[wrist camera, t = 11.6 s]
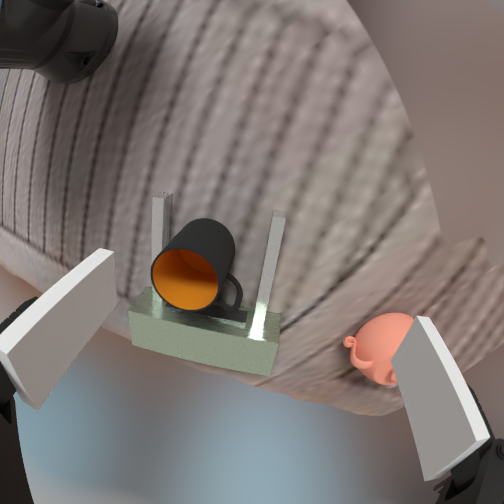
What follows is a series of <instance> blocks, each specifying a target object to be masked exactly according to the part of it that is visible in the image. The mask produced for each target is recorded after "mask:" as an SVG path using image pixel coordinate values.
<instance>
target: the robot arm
mask: <svg viewBox="0 0 504 504" xmlns="http://www.w3.org/2000/svg"><path fill="white" fill-rule="evenodd" d="M117 28H118V18H117V14H116V11H115V9H114V8H113V7H112V6H111V5H110V4H108V3H106V2H104V1H102V0H0V69H30V70H34V71H36V72H37V73H39V74H41V75H42V76H44V77H45V78H47V79H49V80H50V81H52V82H55V83H65V84H70V83H75V82H78V81H80V80H82V79H84V78H85V77H87V76H88V75H90V74H91V73H92V72H93V71H94V70H95V69H96V68H97V67H98V66H99V65H100V64H101V63H102V61H103V60H104V59H105V57H106V56H107V54H108V53H109V51H110V49H111V47H112V45H113V43H114V40H115V37H116V34H117ZM116 306H117V294H116V280H115V260H114V252H113V251H109V250H105V249H101V248H99V249H98V250H96V251H95V252H94V253H93V254H91V255H90V256H89V257H87V258H86V259H85V260H84V261H82V262H81V263H80V264H79V265H77V266H76V267H75V268H74V269H72V270H71V271H70V272H69V273H68V274H66V275H65V276H64V277H63V278H62V279H60V280H59V281H58V282H57V283H56V284H54V285H53V286H52V287H51V288H50V289H49V290H48V291H46V292H45V293H44V294H43V295H42V296H41V297H40V298H38V297H34V298H32V299H30V300H28V301H25V302H24V303H23V304H22V305H21V306H19V308H17V309H16V312H13V313H12V314H11V315H10V316H9V318H6V319H5V320H4V322H2V323H1V324H0V504H34V502H33V499H32V496H31V492H30V488H29V485H28V481H27V477H26V473H25V468H24V464H23V459H22V454H21V447H20V441H19V434H18V427H17V418H16V407H15V400H14V397H13V395H14V393H15V392H16V391H17V392H18V394H19V396H20V397H21V399H22V400H23V401H24V402H25V403H26V404H28V405H29V406H31V407H32V408H34V409H36V410H37V411H38V410H39V409H40V407H41V406H42V404H43V403H44V401H45V400H46V398H47V397H48V396H49V394H50V393H51V391H52V390H53V388H54V387H55V386H56V384H57V383H58V381H59V380H60V379H61V377H62V376H63V374H64V373H65V372H66V370H67V369H68V368H69V366H70V365H71V364H72V362H73V361H74V359H75V358H76V357H77V356H78V354H79V353H80V352H81V350H82V349H83V348H84V346H85V345H86V344H87V342H88V341H89V340H90V339H91V337H92V336H93V335H94V333H95V332H96V331H97V330H98V328H99V327H100V326H101V325H102V323H103V322H104V321H105V320H106V318H107V317H108V316H109V315H110V313H111V312H112V311H113V310H114V309H115V307H116ZM390 362H391V365H392V368H393V370H394V373H395V376H396V379H397V382H398V385H399V388H400V391H401V395H402V398H403V401H404V404H405V407H406V411H407V414H408V417H409V421H410V424H411V428H412V432H413V435H414V438H415V443H416V447H417V450H418V454H419V458H420V463H421V467H422V471H423V476H424V481H428V480H432V479H437V478H440V477H441V476H443V475H444V474H446V473H447V472H448V471H450V470H451V474H452V475H451V476H450V477H448V478H447V479H445V480H444V481H442V482H441V483H439V484H438V485H436V486H435V488H434V491H435V490H437V489H438V488H440V487H441V486H443V485H444V486H443V488H442V489H440V490H439V491H438V493H440V495H439V498H438V500H437V502H436V504H504V440H503V439H495V437H494V435H493V433H492V430H491V428H490V425H489V423H488V421H487V418H486V416H485V414H484V412H483V411H482V407H481V405H480V403H478V399H477V397H476V395H475V393H474V391H473V390H472V388H471V387H470V386H469V385H468V384H467V383H466V382H465V380H464V378H463V377H462V374H461V372H460V370H459V369H458V367H457V365H456V363H455V361H454V359H453V357H452V356H451V354H450V352H449V350H448V349H447V347H446V345H445V343H444V342H443V340H442V338H441V336H440V335H439V333H438V331H437V330H436V328H435V326H434V325H433V323H432V321H431V320H430V318H428V317H422V316H416V317H415V319H414V321H413V323H412V325H411V327H410V328H409V330H408V332H407V334H406V335H405V337H404V339H403V341H402V342H401V344H400V346H399V347H398V349H397V351H396V352H395V354H394V355H393V357H392V359H391V360H390Z"/></svg>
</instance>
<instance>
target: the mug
mask: <svg viewBox="0 0 504 504" xmlns="http://www.w3.org/2000/svg"><path fill="white" fill-rule="evenodd" d="M234 253H235V244H234V240H233V237H232V235H231V233H230V232H229V230H228V229H227V228H226V227H225V226H224V225H222V224H221V223H219V222H217V221H215V220H212V219H204V218H202V219H196V220H194V221H191V222H190V223H188V224H187V225H186V226H185V227H184V228H183V229H182V230H181V231H180V232H179V233H178V234H177V235H176V236H175V237H174V238H173V239H172V240H171V241H170V242H169V243H168V245H167V246H166V247H165V248H164V249H163V250H162V251H161V252H160V253H159V254H158V255H157V257H156V258H155V259H154V261H153V263H152V266H151V281H152V284H153V287H154V289H155V291H156V292H157V294H158V295H159V296H160V298H161V299H162V300H163V301H164V302H166V303H167V304H168V305H170V306H172V307H174V308H176V309H178V310H182V311H186V312H197V311H201V310H204V309H206V308H208V307H210V306H211V305H212V304H213V303H214V302H215V301H217V302H218V304H219V305H220V306H221V307H222V308H223V309H224V310H226V311H228V312H236V311H237V310H238V309H239V308H240V305H241V301H242V297H243V291H242V288H241V285H240V283H239V282H238V281H237V279H236V278H235V277H234V276H232V275H231V274H229V273H227V272H228V270H229V267H230V264H231V262H232V259H233V256H234ZM225 278H227V279H229V280H230V281H231V282H232V283H233V284H234V285H235V287H236V290H237V297H236V300H235V304H234V305H233V306H229V305H227V304H226V303H225V301H224V300H223V298H222V296H221V291H220V290H221V288H222V285H223V283H224V280H225Z"/></svg>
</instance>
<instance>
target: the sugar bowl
mask: <svg viewBox="0 0 504 504" xmlns="http://www.w3.org/2000/svg"><path fill="white" fill-rule="evenodd" d="M413 321H414V319H413V318H412V317H410V316H409V315H406V314H403V313H386V314H382V315H379V316H377V317H375V318H373V319H371V320H370V321H368V322H367V323H366V324H365V325H363V326H362V327H361V329H360V330H359V331H358V332H357V334H356V335H355V337H353V336H348V337H346V338H345V339H344V341H343V345H344V346H345V347H347V348H350V347H351V352H350V361H351V363H352V365H353V366H354V367H356V368H358V369H359V370H360V372H361V373H362V374H364V375H365V376H366V377H367V378H369V379H371V380H372V381H374V382H376V383H379V384H382V385H391V384H395V383H398V382H397V379H396V376H395V373H394V370H393V368H392V365H391V362H390V360H391V359H392V357H393V355H394V354H395V352H396V351H397V349H398V347H399V346H400V344H401V342H402V341H403V339H404V337H405V335H406V334H407V332H408V330H409V328H410V327H411V325H412V323H413Z"/></svg>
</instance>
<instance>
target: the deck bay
mask: <svg viewBox="0 0 504 504" xmlns="http://www.w3.org/2000/svg"><path fill="white" fill-rule="evenodd" d="M171 205H172V193H165V192H161V193H159V194H157V195H156V196H154V197H153V206H152V263H153V261H154V259H155V258H156V257H157V255H158V254H159V253H160V252H161V251H162V250H163V249H164V248H165V247H166V246H167V245H168V243H169V242H170V223H171ZM285 220H286V212H284V211H278V210H274V211H273V216H272V222H271V227H270V233H269V238H268V243H267V249H266V254H265V260H264V265H263V270H262V275H261V281H260V286H259V291H258V296H257V302H256V307H255V309H250V308H244V307H240V308H239V309H238V310H237V311H236V312H228V311H226V310H224V309H223V308H222V307H221V306H220V305H219V304H218V302H214V303H213V304H212V305H211V306H210V307H208V308H206V309H204V310H201V311H197V312H186V311H182V310H178V309H176V308H174V307H172V306H170V305H168V304H167V303H166V302H164V301H163V300H162V299H161V298H160V296H159V295H158V294H157V292H156V291H155V289H154V287H153V284H152V288H150V287H146V288H145V289H144V290H143V292H142V293H141V294H140V295H139V297H138V298H137V299H136V300H135V302H134V303H133V304H132V306H131V307H130V308H129V309H128V317H129V325H130V332H131V339H132V345H135V346H138V347H141V348H144V349H148V350H152V351H155V352H158V353H162V354H166V355H170V356H173V357H177V358H181V359H185V360H189V361H194V362H198V363H202V364H207V365H211V366H216V367H221V368H225V369H231V370H236V371H241V372H247V373H252V374H258V375H264V376H270V373H271V370H272V366H273V363H274V359H275V356H276V353H277V349H278V346H279V335H280V314H278V313H272V312H266V311H267V306H268V302H269V297H270V293H271V288H272V283H273V279H274V274H275V269H276V264H277V259H278V255H279V250H280V245H281V240H282V235H283V230H284V225H285ZM227 305H229V304H227ZM229 306H233V305H229Z"/></svg>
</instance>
